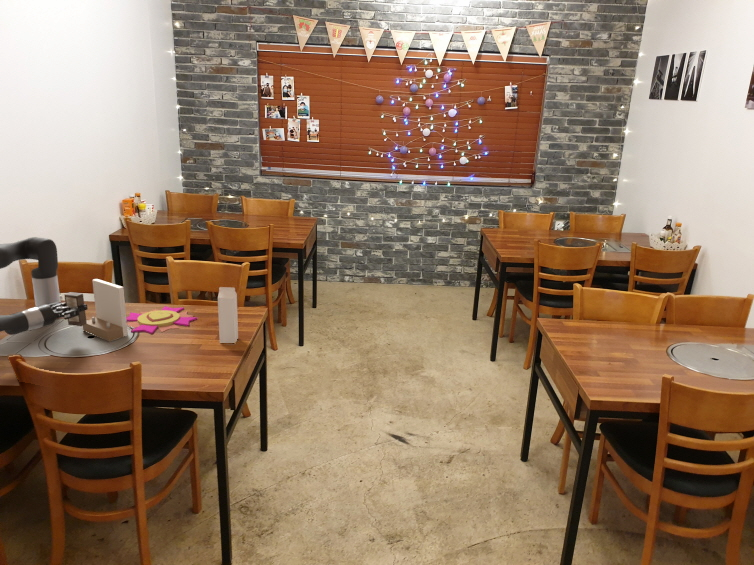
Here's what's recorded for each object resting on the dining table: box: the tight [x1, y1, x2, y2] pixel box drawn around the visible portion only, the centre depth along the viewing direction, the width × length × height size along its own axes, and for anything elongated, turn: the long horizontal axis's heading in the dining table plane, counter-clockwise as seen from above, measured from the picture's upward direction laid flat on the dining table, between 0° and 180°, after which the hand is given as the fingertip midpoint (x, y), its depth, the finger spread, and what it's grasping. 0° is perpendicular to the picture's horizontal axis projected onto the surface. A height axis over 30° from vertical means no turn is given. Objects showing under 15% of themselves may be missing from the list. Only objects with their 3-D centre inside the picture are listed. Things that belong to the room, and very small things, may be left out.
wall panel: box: [82, 278, 129, 342], centre depth 228 cm, size 17×8×20 cm, turn 58°
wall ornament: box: [126, 305, 198, 335], centre depth 246 cm, size 30×2×30 cm
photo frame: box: [64, 291, 87, 327], centre depth 218 cm, size 6×3×12 cm, turn 77°
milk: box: [217, 286, 239, 344], centre depth 225 cm, size 6×6×22 cm
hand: (81, 304), depth 220 cm, fingers closed on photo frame, 6 cm apart
